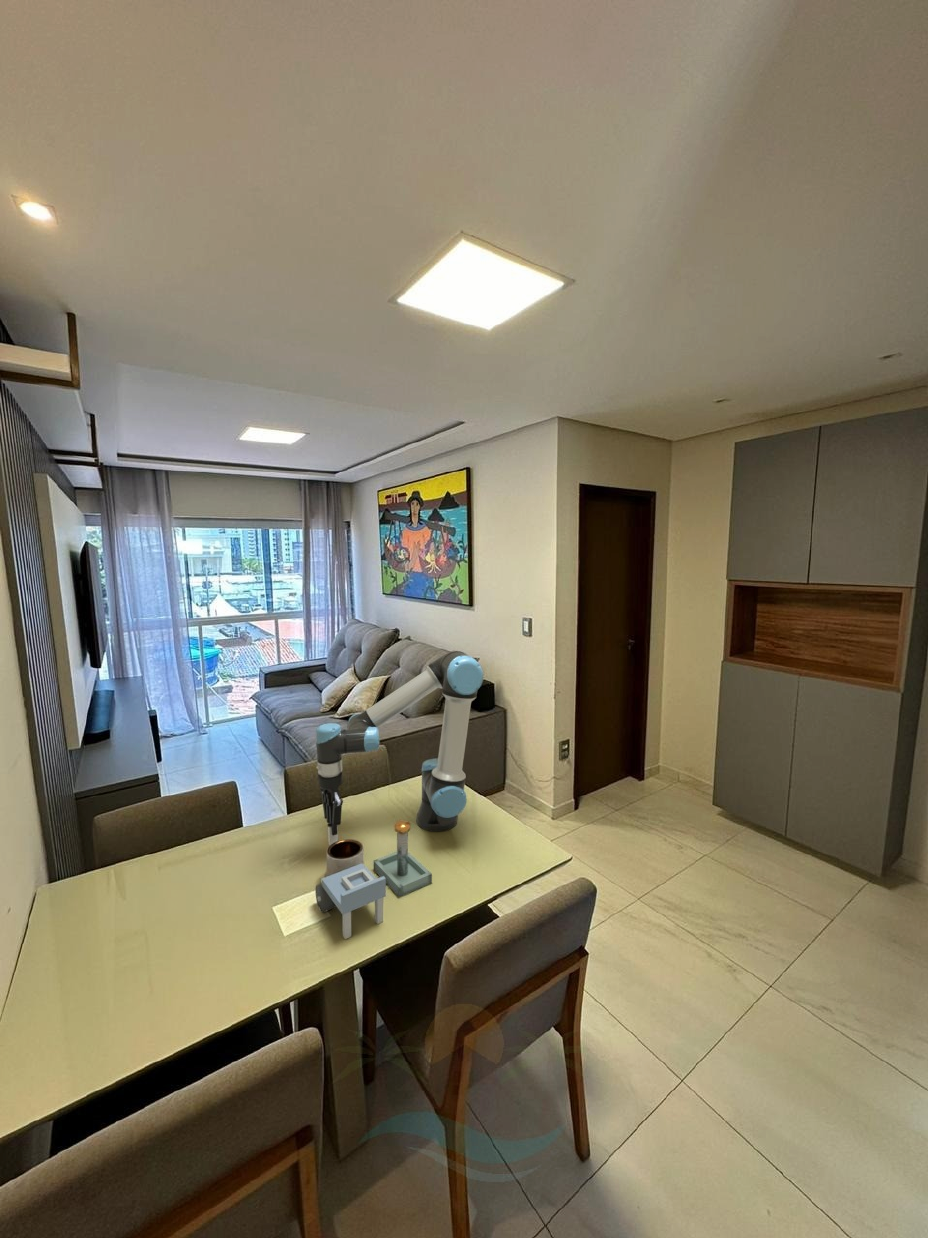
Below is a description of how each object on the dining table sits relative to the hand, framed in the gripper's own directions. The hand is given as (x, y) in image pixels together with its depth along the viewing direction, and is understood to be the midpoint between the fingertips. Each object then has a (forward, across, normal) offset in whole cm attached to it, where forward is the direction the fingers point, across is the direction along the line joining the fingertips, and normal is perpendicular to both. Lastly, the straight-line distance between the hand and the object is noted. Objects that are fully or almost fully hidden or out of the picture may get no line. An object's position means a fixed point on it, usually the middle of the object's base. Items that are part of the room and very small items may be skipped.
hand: (333, 842), depth 159 cm
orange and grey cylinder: (+4, +23, +12) cm, 26 cm away
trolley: (+4, +29, -7) cm, 30 cm away
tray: (+5, +23, +12) cm, 26 cm away
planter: (+5, +14, -2) cm, 15 cm away
